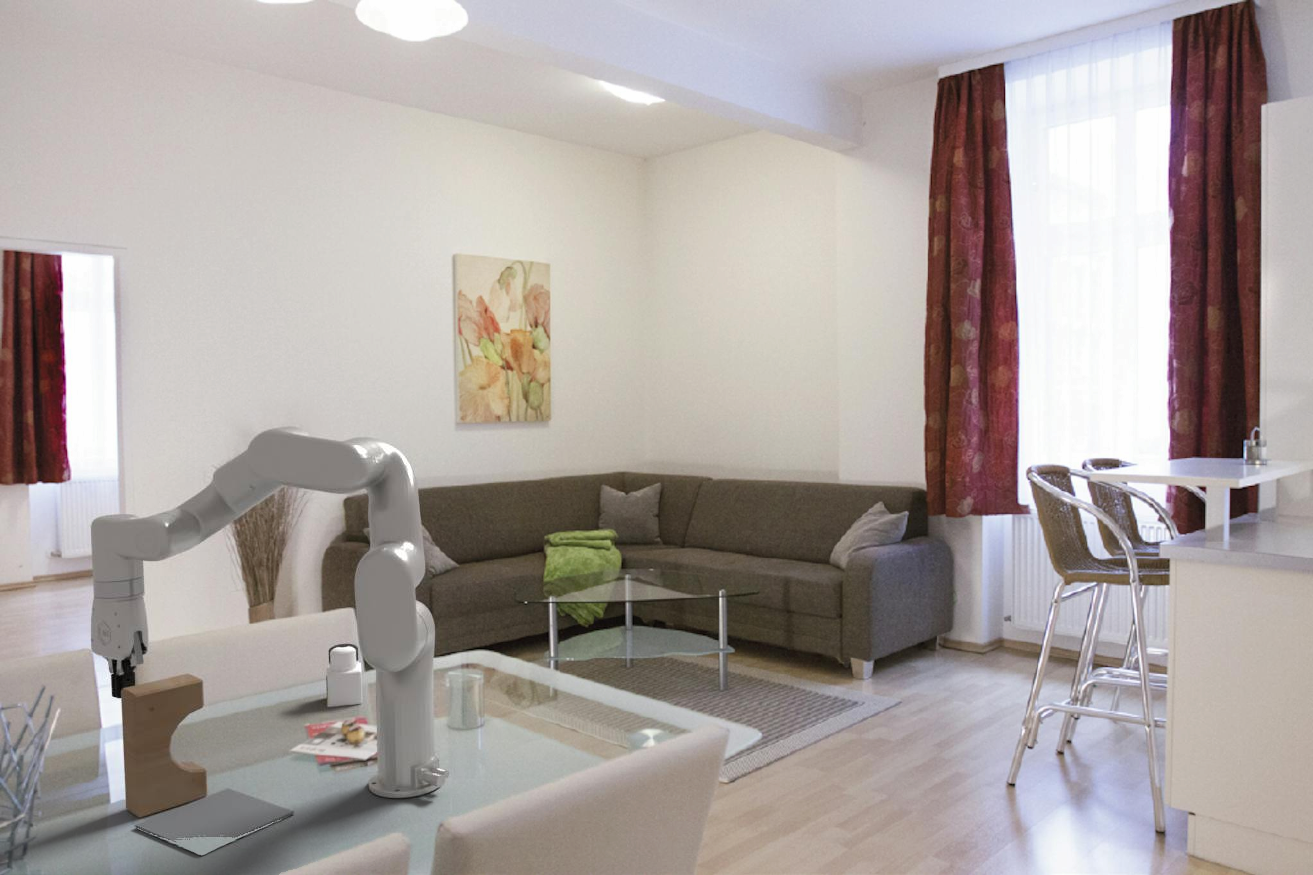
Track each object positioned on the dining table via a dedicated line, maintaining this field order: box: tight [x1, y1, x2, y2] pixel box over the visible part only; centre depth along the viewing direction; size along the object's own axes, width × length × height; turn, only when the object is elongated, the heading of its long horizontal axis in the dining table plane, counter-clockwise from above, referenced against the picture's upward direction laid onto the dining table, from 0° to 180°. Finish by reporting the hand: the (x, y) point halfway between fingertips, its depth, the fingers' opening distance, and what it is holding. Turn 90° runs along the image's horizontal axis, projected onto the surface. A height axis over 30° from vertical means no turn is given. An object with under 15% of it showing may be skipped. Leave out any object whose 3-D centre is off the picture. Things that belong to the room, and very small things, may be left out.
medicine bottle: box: [325, 643, 363, 708], centre depth 213 cm, size 7×7×12 cm
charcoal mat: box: [134, 787, 295, 842], centre depth 156 cm, size 17×16×1 cm
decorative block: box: [120, 673, 208, 819], centre depth 162 cm, size 11×6×20 cm, turn 137°
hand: (123, 695), depth 168 cm, fingers closed
